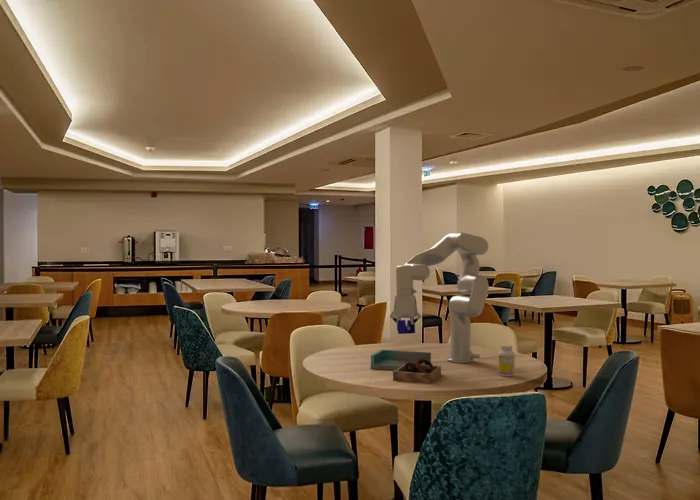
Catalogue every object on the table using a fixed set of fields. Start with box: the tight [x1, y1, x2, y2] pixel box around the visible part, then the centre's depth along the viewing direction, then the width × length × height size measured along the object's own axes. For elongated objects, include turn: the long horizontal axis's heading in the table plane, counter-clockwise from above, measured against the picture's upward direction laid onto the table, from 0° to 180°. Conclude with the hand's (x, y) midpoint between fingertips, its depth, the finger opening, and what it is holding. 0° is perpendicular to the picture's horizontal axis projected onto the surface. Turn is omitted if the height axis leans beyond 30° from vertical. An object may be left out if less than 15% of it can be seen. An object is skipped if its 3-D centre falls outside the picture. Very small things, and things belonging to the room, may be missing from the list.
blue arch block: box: [397, 319, 416, 335], centre depth 275 cm, size 12×4×6 cm, turn 151°
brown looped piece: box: [405, 359, 434, 374], centre depth 259 cm, size 12×10×8 cm
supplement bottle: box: [498, 344, 516, 378], centre depth 262 cm, size 7×7×13 cm
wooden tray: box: [392, 364, 442, 384], centre depth 257 cm, size 16×18×4 cm
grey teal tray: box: [370, 349, 432, 371], centre depth 279 cm, size 24×17×6 cm
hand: (405, 332), depth 275 cm, fingers closed on blue arch block, 4 cm apart
